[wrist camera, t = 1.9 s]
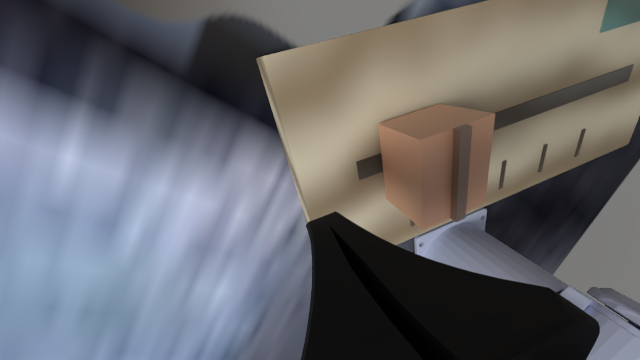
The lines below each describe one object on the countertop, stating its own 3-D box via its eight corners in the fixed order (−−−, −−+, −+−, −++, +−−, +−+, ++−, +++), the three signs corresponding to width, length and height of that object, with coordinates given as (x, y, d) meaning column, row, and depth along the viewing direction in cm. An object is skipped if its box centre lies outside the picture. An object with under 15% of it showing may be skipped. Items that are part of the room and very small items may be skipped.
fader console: (587, 136, 25) (629, 144, 23) (314, 247, 20) (327, 276, 17) (640, -38, 19) (708, -55, 16) (256, 58, 13) (262, 56, 11)
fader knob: (438, 178, 17) (491, 206, 13) (386, 199, 16) (428, 234, 13) (439, 103, 14) (503, 114, 11) (378, 123, 14) (426, 142, 10)
